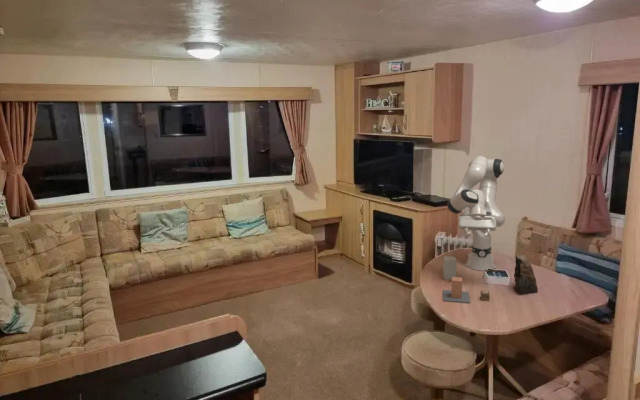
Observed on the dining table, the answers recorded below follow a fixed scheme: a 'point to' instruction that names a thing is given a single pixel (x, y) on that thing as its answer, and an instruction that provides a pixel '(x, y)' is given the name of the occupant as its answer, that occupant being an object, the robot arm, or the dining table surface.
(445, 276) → the supplement box
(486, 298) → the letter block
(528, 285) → the dark brown rock
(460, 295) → the tan rectangular pillar
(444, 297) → the grey mat
